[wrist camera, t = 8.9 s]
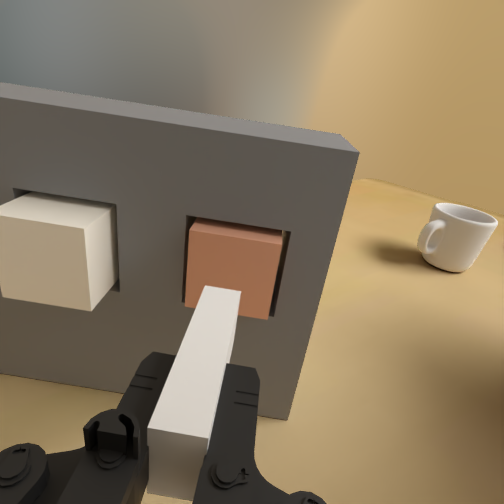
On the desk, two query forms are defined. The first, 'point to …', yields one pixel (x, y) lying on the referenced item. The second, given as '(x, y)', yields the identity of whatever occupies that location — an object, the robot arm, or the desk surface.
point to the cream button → (58, 250)
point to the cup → (455, 236)
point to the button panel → (169, 230)
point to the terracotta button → (233, 263)
